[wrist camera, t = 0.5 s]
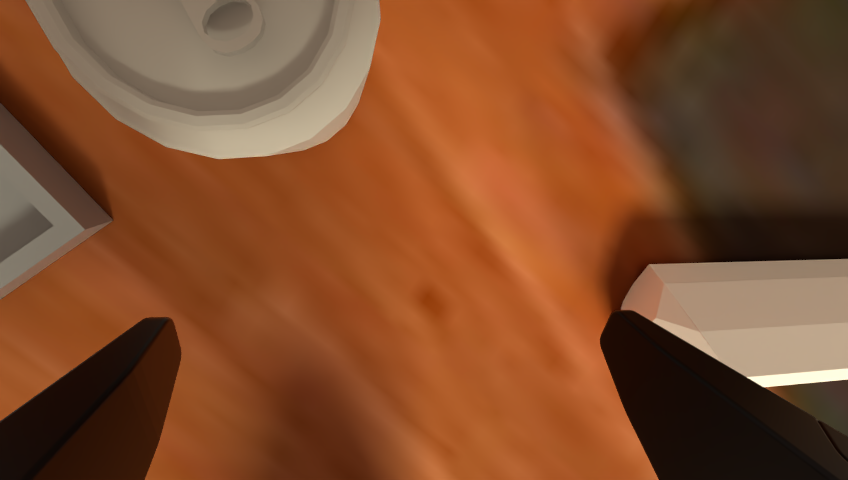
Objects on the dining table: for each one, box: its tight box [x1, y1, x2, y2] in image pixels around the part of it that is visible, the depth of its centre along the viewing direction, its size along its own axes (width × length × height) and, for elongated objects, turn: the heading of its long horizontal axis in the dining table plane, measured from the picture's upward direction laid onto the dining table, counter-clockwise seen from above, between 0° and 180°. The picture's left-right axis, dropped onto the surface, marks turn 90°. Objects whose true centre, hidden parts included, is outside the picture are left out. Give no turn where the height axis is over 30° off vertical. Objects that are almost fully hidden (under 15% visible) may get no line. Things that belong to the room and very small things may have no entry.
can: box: [26, 0, 381, 159], centre depth 14 cm, size 8×8×12 cm
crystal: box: [621, 259, 848, 387], centre depth 26 cm, size 7×7×24 cm
